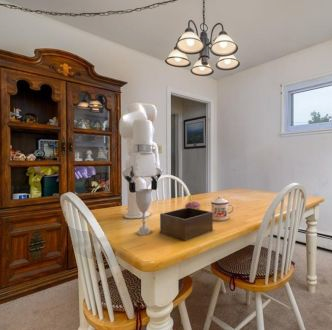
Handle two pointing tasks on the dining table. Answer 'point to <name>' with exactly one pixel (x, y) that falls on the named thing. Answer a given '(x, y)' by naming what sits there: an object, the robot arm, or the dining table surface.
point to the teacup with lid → (220, 209)
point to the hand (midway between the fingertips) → (143, 190)
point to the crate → (186, 223)
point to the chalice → (143, 207)
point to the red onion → (193, 204)
